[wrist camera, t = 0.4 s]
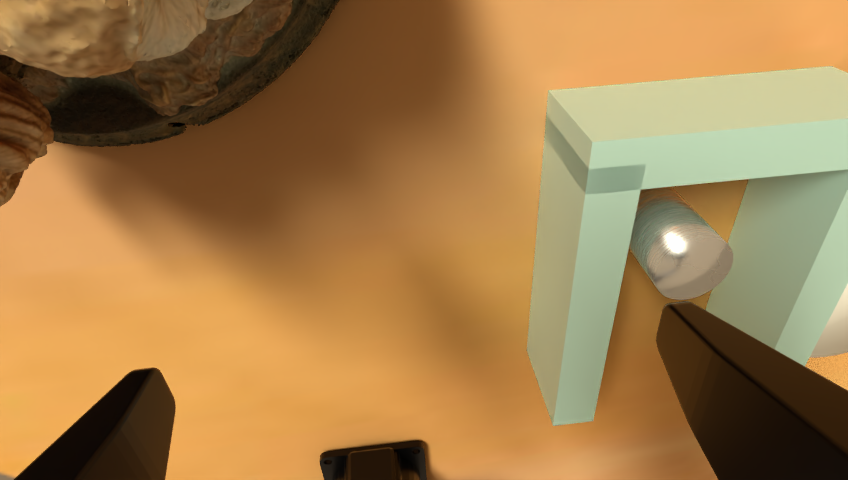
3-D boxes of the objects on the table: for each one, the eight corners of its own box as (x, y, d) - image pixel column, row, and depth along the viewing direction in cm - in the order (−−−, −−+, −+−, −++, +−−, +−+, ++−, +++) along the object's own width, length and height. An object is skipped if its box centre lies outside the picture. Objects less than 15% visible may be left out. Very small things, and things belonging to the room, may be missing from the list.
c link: (548, 90, 22) (592, 142, 18) (831, 66, 22) (937, 110, 18) (526, 350, 30) (553, 426, 26) (731, 327, 31) (788, 397, 27)
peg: (658, 221, 26) (721, 295, 22) (597, 227, 26) (648, 303, 21) (671, 165, 24) (743, 234, 20) (606, 172, 24) (664, 241, 20)
